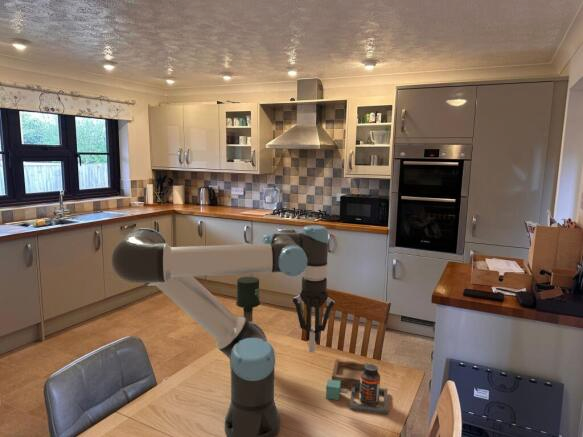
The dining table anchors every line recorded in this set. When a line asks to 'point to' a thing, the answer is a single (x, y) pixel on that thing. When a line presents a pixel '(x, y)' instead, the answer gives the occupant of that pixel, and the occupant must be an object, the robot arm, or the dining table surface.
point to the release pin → (334, 389)
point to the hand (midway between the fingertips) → (312, 350)
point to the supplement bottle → (369, 385)
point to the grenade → (248, 295)
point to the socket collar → (368, 407)
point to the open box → (348, 372)
